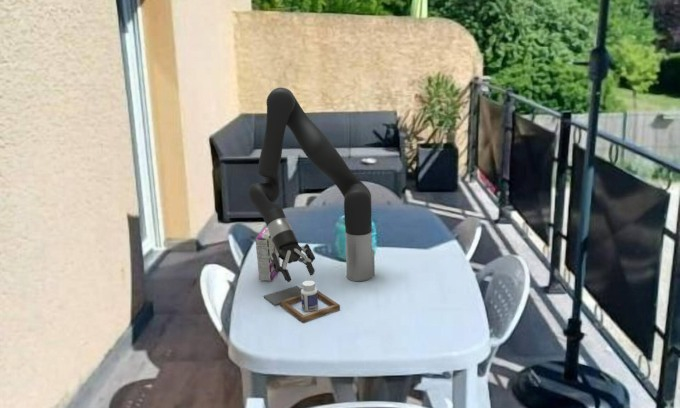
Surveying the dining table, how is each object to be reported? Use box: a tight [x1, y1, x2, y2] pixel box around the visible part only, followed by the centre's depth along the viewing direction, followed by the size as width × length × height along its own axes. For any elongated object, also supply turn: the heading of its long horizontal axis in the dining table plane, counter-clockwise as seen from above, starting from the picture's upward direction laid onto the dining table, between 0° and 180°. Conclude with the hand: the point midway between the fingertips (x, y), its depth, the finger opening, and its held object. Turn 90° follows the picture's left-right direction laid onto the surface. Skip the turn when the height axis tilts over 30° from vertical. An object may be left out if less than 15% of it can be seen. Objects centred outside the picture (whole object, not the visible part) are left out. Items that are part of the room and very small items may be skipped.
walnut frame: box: [280, 289, 341, 324], centre depth 208 cm, size 14×14×2 cm
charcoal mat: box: [262, 285, 303, 307], centre depth 217 cm, size 13×8×1 cm, turn 124°
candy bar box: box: [255, 227, 281, 282], centre depth 232 cm, size 11×5×16 cm, turn 168°
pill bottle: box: [300, 280, 319, 312], centre depth 207 cm, size 5×5×9 cm
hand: (301, 277), depth 209 cm, fingers open, 8 cm apart
